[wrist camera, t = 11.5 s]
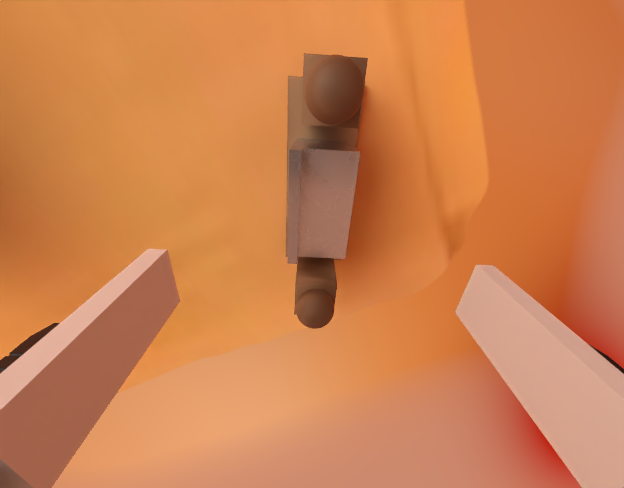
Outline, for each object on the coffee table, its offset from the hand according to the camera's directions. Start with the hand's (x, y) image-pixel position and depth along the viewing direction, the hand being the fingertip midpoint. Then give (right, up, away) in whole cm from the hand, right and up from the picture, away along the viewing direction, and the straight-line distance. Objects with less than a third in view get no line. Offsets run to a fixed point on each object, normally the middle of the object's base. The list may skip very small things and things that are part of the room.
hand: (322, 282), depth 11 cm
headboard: (0, +9, +17) cm, 19 cm away
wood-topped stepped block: (0, +8, +16) cm, 18 cm away
